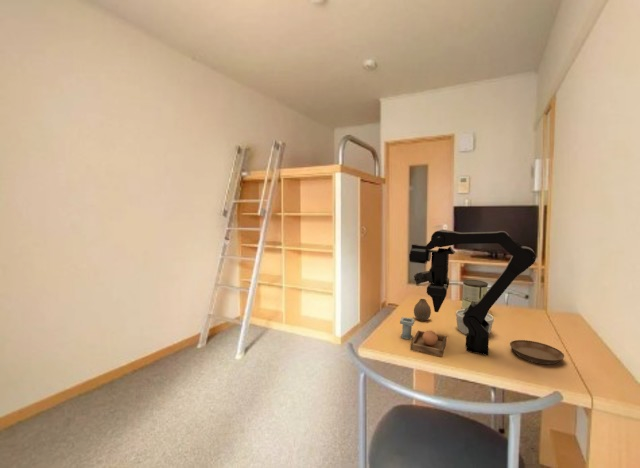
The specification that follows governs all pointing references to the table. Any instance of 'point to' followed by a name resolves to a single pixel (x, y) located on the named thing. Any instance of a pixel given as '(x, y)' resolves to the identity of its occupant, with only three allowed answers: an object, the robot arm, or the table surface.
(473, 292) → the coffee can
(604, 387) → the table surface
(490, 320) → the ramekin
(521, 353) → the saucer
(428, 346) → the tray
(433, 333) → the ball
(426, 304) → the vase
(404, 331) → the stand
